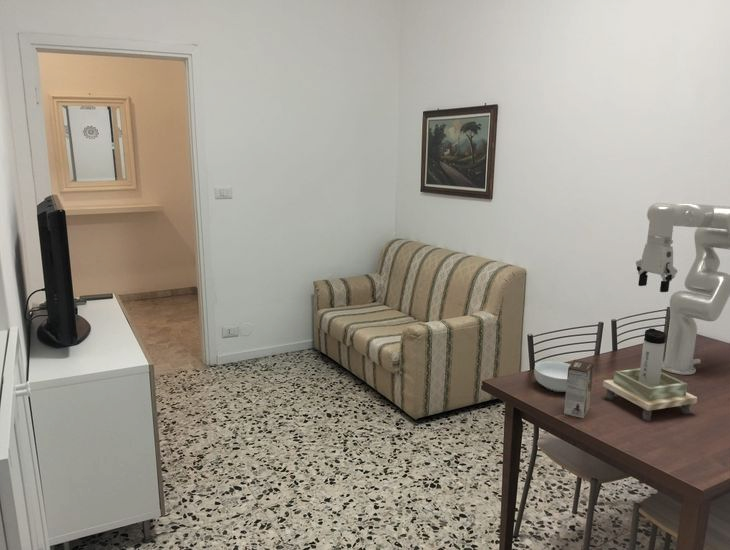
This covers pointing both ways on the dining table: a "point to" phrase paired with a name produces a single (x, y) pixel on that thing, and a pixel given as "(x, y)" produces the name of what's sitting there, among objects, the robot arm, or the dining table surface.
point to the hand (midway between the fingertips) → (652, 288)
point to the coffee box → (578, 388)
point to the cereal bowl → (552, 375)
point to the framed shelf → (650, 392)
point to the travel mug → (652, 357)
